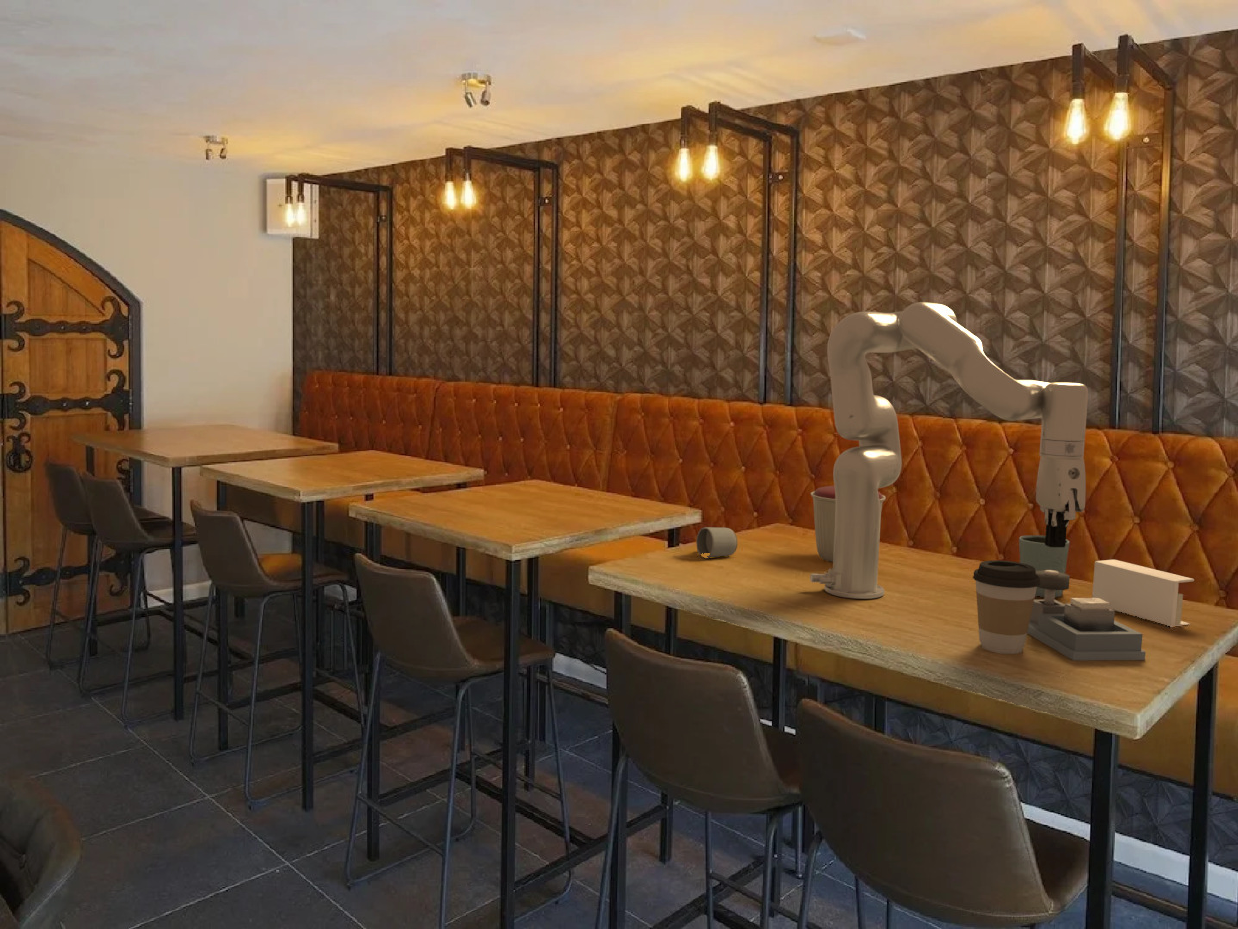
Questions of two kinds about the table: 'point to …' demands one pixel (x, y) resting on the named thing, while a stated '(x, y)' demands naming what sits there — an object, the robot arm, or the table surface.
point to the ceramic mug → (716, 541)
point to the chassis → (1083, 636)
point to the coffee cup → (1004, 604)
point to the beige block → (1089, 615)
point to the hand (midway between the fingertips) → (1054, 546)
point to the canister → (827, 520)
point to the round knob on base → (1052, 584)
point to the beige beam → (1140, 591)
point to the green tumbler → (1043, 557)
